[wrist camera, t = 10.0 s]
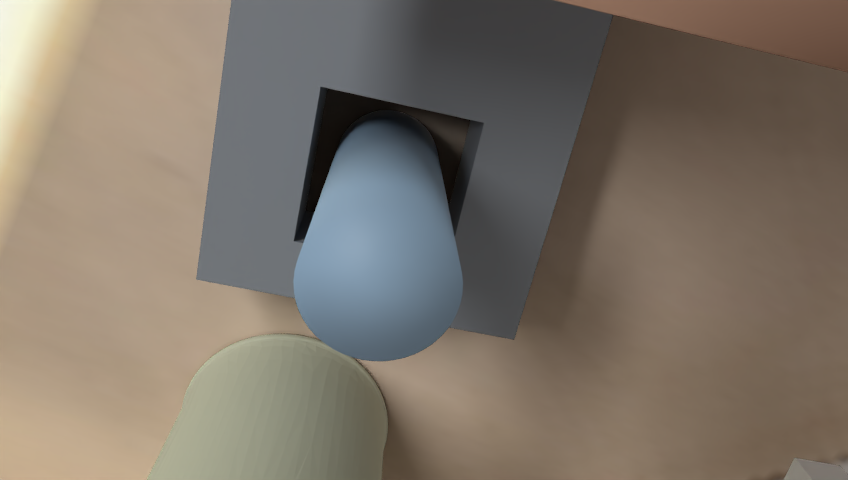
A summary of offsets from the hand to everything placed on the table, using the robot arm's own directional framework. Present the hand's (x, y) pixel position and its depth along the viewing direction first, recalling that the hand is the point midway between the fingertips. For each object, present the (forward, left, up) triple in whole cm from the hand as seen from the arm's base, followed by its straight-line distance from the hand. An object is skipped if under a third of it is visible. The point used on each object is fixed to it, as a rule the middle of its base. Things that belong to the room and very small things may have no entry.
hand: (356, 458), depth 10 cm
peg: (0, 0, -19) cm, 19 cm away
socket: (-3, 0, -19) cm, 19 cm away
